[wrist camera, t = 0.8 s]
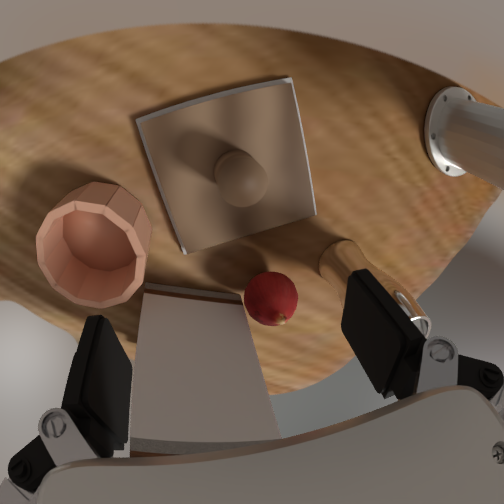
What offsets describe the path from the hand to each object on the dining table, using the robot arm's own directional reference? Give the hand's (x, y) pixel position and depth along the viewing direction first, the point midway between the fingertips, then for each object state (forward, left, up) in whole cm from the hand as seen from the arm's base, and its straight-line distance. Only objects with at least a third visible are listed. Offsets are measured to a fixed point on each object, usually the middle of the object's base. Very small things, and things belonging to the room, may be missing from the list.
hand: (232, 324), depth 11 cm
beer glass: (-13, +15, -21) cm, 28 cm away
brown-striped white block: (+8, +17, -21) cm, 28 cm away
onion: (-3, +14, -21) cm, 25 cm away
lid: (-3, 0, -20) cm, 20 cm away
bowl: (+12, +2, -20) cm, 24 cm away
